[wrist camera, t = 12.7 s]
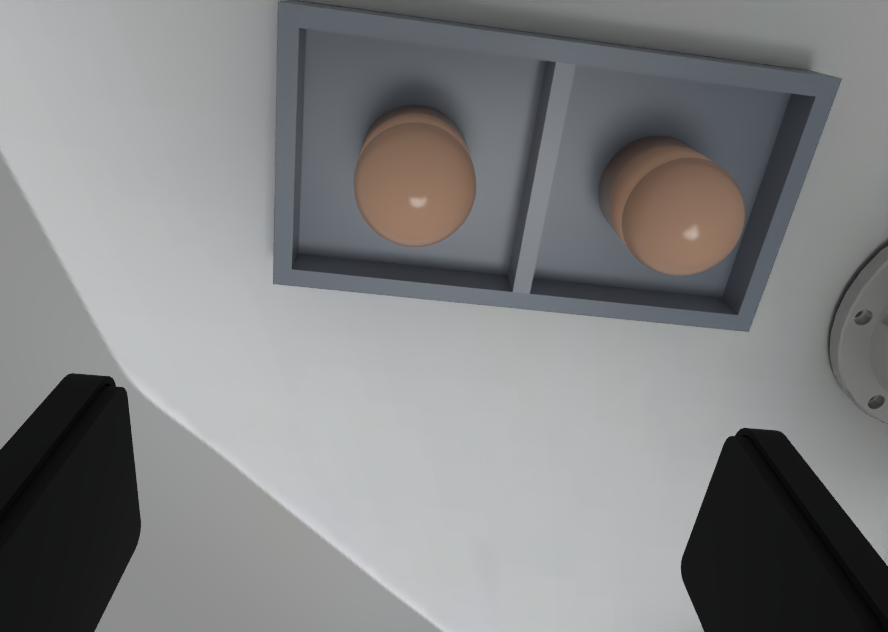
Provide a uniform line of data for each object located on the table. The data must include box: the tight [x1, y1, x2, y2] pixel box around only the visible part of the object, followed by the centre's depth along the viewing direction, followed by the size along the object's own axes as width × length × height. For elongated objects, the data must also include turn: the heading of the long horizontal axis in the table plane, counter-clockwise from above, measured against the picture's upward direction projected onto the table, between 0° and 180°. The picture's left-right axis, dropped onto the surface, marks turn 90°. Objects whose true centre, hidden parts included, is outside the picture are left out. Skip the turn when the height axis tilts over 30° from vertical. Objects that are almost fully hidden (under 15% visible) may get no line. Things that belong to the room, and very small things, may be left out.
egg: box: [354, 105, 477, 247], centre depth 27 cm, size 5×5×6 cm
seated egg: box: [599, 136, 745, 276], centre depth 28 cm, size 5×5×6 cm
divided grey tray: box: [273, 0, 842, 332], centre depth 30 cm, size 22×12×2 cm, turn 83°
